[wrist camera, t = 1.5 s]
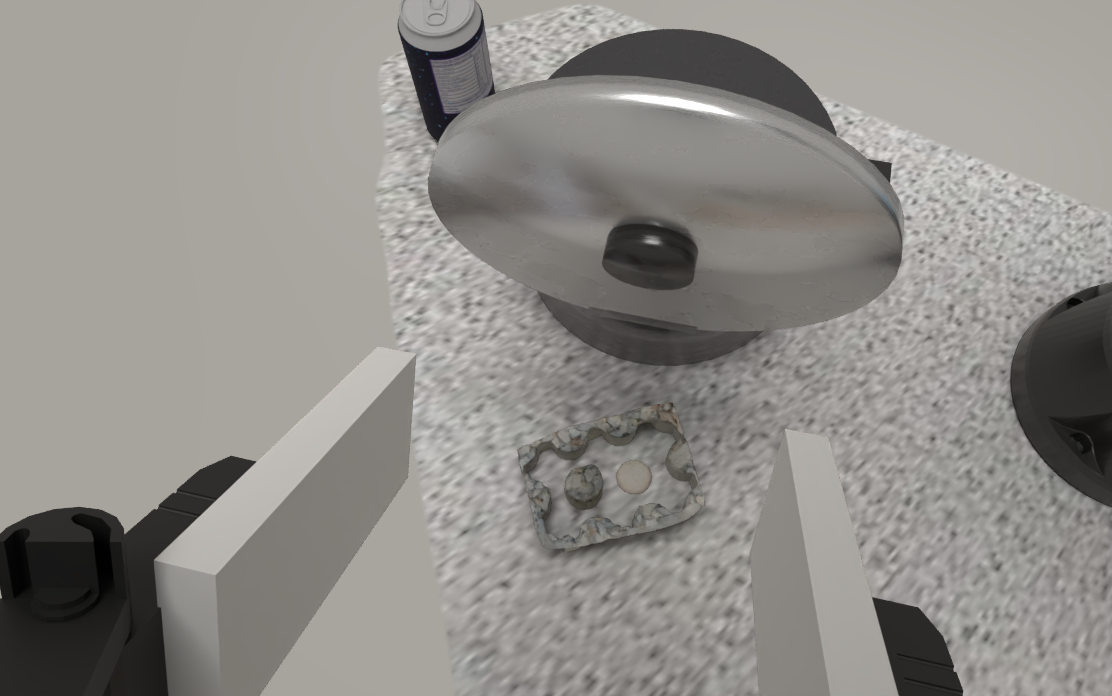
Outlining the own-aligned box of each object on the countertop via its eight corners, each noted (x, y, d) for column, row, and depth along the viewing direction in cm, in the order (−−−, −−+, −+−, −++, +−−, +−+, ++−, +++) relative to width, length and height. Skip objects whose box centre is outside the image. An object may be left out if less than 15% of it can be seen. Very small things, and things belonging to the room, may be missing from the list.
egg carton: (673, 415, 53) (680, 395, 50) (704, 526, 51) (714, 514, 47) (517, 448, 53) (512, 430, 49) (539, 562, 50) (536, 553, 46)
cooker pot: (855, 154, 60) (903, 60, 51) (829, 400, 53) (880, 342, 44) (521, 101, 63) (510, 3, 54) (454, 326, 56) (428, 258, 47)
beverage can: (502, 95, 64) (483, -27, 53) (496, 154, 62) (476, 40, 50) (431, 94, 64) (398, -28, 53) (423, 153, 62) (388, 39, 51)
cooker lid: (1002, 130, 24) (997, 199, 24) (825, 337, 44) (820, 379, 43) (381, 35, 27) (360, 95, 26) (474, 272, 46) (464, 310, 45)
